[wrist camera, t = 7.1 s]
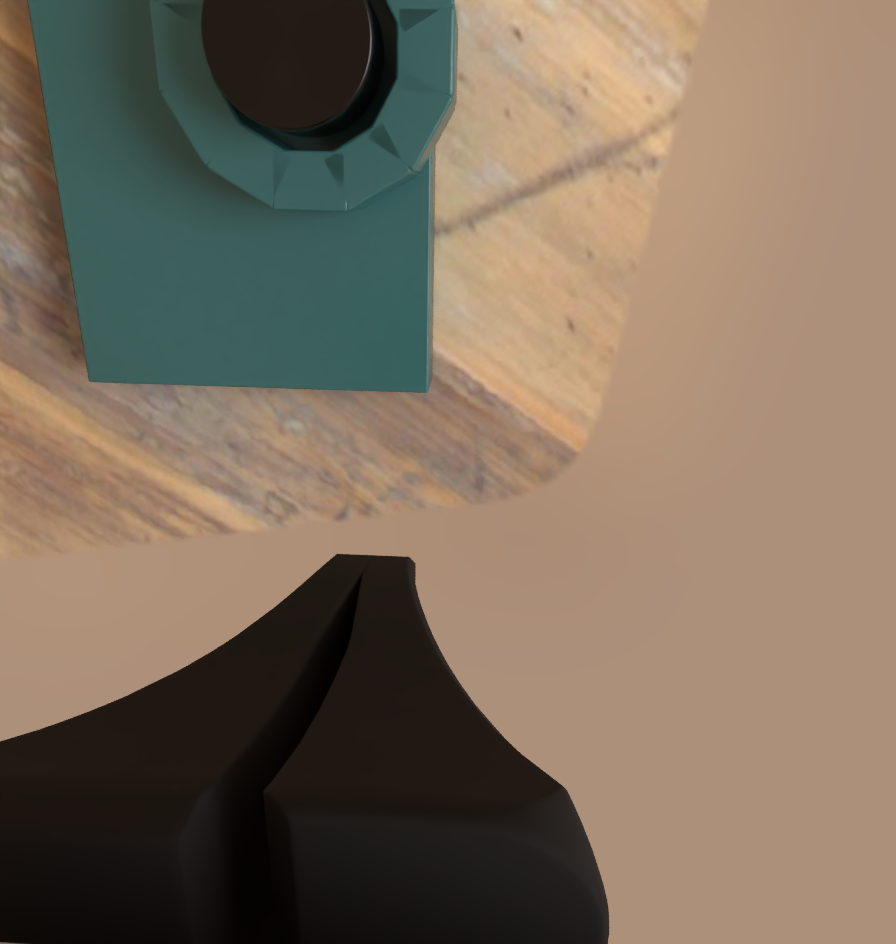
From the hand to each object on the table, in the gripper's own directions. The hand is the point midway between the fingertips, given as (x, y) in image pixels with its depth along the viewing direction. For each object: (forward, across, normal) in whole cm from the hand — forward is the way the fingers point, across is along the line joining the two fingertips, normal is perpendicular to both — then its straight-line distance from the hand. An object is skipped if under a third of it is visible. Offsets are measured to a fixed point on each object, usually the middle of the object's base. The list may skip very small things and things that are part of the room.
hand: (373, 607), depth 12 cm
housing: (+10, +4, -8) cm, 13 cm away
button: (+6, +2, -9) cm, 11 cm away
